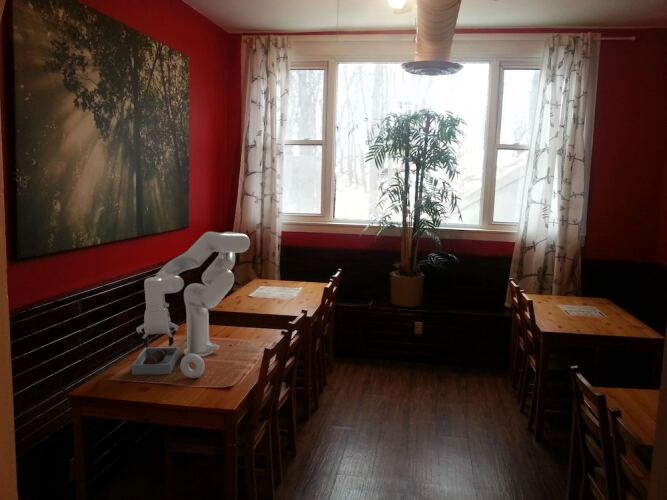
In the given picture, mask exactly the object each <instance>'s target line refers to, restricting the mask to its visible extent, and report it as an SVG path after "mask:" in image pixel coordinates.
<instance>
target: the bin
mask: <svg viewBox="0 0 667 500" xmlns="http://www.w3.org/2000/svg"><path fill="white" fill-rule="evenodd" d="M161 349H165V350H166V351H167V354H166V356H165V358H164V359H163V360H162V361H158V363H157V364H143V362H144V360H145V358H146V357H147V356H153V355H154V353H155V352H156V350H161ZM180 349H181V347H180V346H175V347H174V346H171V347H170V346H169V347H168V346H167V347H163V346H162V347H147V348H146V347H144V348H143V350H142V351H141V352H140V354H139V355H138V356H137V357H136V359H135V360H134V362H132V364H131V375H133V376H134V375H135V376H137V375H138V376H139V375H140V376H141V375H171V374H172V372H173V370H174V368H175V367H176V365H177V362H178V361H177V360H179V358H180V356H181V350H180Z"/></svg>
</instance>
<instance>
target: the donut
mask: <svg viewBox="0 0 667 500" xmlns="http://www.w3.org/2000/svg"><path fill="white" fill-rule="evenodd" d="M180 360H181V361H180V364H179V366H180V370H181V372H182V374H183V375H184V376H185V377H187V378H190V379H196V378H199V377H201V376H202V375H203V374H204V371H205V368H206V367H205V366H206V365H205V361H204V359H203V357H200V356H198V355H197V354H188V355H185V354H184V356H183V357H182V359H180ZM190 363H194V364H195V369H192V368H191V367H190Z"/></svg>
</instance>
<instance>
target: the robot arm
mask: <svg viewBox="0 0 667 500" xmlns="http://www.w3.org/2000/svg"><path fill="white" fill-rule="evenodd" d="M250 246H251V240H250V238H249V236H248V235H247V234H244V233H240V232H233V231H224V232H217V231H207V232H204V233H203V234H202V235H201V236H200V237H199V238H198V239H197V240H196V241H195V242H194V244H192V245H191V247H189V248H188V250H187V251H185V252H183V253H181V255H178V256H177V257H175V258H173V259H171V260H170V261H168V262H167V263H166V264H164V266H162V267H161V269H160V270H159V271H158V272H157V273H156V275H155V276H152V277H147V278H146V279H144V283H143V284H144V285H143V286H144V294H145V295H144V297H145V308H146V309H145V311H144V318H143V321H144V322H143V324H141V325H139V326H137V327H136V329H135V331H136V332H137V334H138V335H139V336H140V337H141V338H142V339H143V344H144V345H143V346H145V348H149V347H150V341H149V340H150V339H149V335H164V334H166V335H167V336H169V337H168V345H169V347H173V344H174V336H175V335H176V333H178V331H179V328H180V326H179V324H176V323H173V322H171V317H170V313H169V306H170V304H169V303H167V302H166V299H165V294H173V293H174V294H175V293H178V292H180V291H181V290H183V288H184V286H185V282H184V279H183V278H182V277H181V276H179V275H180V274H181V273H183V272H185V271H188V270H193V269H196V268H199V267H201V266H202V265H203V263H205V262H206V260H207V259H209V257H210V256H211V255H212V254H213V253H215V252H216V253H218V255H217V256H216V258H215V259H214V260H213V261H212V263H211V264H209V266H207V268H206V269H205V270H204V272H203V273H202V275H201V281H202V283H203V284H202V283H196V282H195V283H190V284H188V285H187V286H186V287H185V289H184V291H183V301H184V305H185V309H186V310H185V311H186V314H185V315H186V338H187V340H186V343H187V347H186V348H185V349H184V350H183V354H184V356H185V355H188V354H197V355H198V356H200V357H201V358H203V357H206V356H210V355H211V354H212V353H213V352H214V350H220V345H219V344H218V343H212V342H211V340H210V326H209V324H210V322H209V319H210V318H209V315H210V313H209V310H211V309H213V308H215V307H217V305H219V304H220V302H221V301H222V300H223V298H225V296H226V295H227V294H228V293H229V291H230V290H231V289H232V287H233V285H234V283H235V275H234V273H233V271H232V269H233V268H234V266H235V263H236V254H237V253H240V254H241V253H245V252H246V251H247V250H248V249H249V248H250ZM172 328H173V329H174V330H171V329H172ZM143 329H144V332H143V331H142V330H143Z"/></svg>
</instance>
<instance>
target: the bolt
mask: <svg viewBox="0 0 667 500" xmlns="http://www.w3.org/2000/svg"><path fill="white" fill-rule="evenodd" d="M166 354H167V351H166V350H165V349H161V350H156V352H155V353H154V355H153V356H147V357H146V358H145V360H144V362H143V364H157V363H158V361H162V360H163V359H164V358H165V356H166Z"/></svg>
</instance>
